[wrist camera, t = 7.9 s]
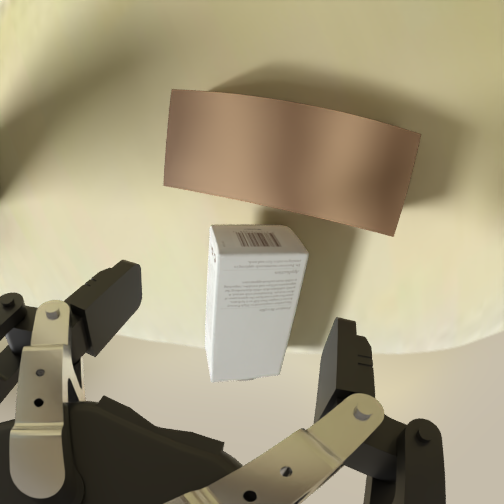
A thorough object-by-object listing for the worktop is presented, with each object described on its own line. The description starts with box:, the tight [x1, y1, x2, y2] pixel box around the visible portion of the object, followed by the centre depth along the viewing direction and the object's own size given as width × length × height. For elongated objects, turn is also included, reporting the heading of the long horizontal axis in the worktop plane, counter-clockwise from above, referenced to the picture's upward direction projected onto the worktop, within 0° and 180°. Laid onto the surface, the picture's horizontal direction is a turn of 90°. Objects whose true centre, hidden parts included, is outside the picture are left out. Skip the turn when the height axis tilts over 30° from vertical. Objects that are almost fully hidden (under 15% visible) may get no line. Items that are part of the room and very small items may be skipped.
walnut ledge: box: [164, 89, 421, 237], centre depth 18 cm, size 14×6×5 cm, turn 81°
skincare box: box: [205, 225, 309, 382], centre depth 23 cm, size 6×4×12 cm
